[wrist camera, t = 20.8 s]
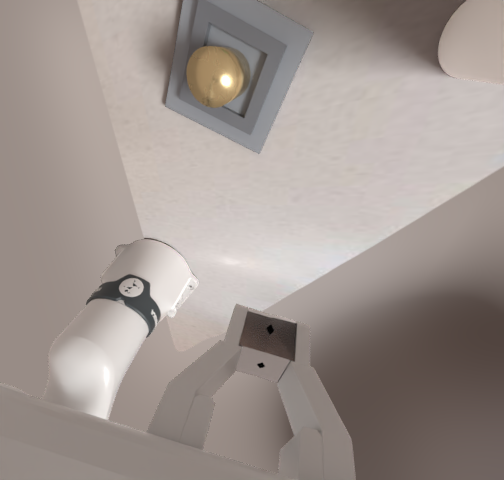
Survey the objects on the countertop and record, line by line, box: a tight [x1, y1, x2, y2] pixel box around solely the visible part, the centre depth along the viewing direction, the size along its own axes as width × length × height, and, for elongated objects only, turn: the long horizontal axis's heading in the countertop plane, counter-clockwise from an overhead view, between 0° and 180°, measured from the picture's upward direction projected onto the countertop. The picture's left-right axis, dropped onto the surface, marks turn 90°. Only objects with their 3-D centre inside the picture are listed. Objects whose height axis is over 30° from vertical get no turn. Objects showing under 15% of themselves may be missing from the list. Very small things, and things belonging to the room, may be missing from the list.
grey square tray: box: [165, 0, 314, 154], centre depth 29 cm, size 14×14×2 cm
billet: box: [186, 46, 251, 108], centre depth 27 cm, size 5×5×7 cm
